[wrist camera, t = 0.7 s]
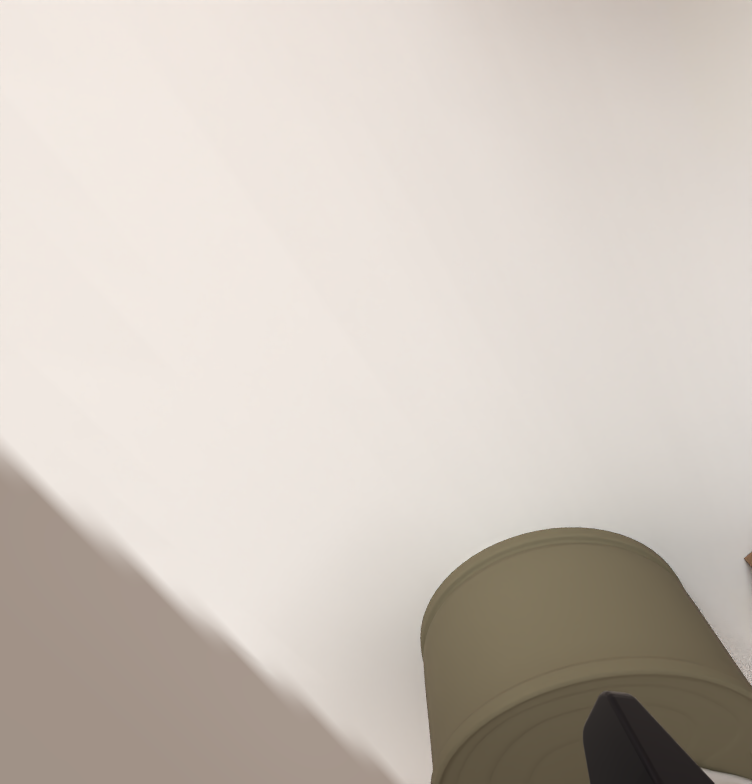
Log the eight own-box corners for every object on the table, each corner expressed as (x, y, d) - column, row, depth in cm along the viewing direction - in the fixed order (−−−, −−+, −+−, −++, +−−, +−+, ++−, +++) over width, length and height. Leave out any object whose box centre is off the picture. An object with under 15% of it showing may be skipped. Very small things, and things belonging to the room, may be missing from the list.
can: (447, 504, 23) (479, 652, 17) (734, 540, 24) (864, 691, 18) (393, 707, 28) (402, 877, 22) (631, 728, 29) (704, 897, 23)
